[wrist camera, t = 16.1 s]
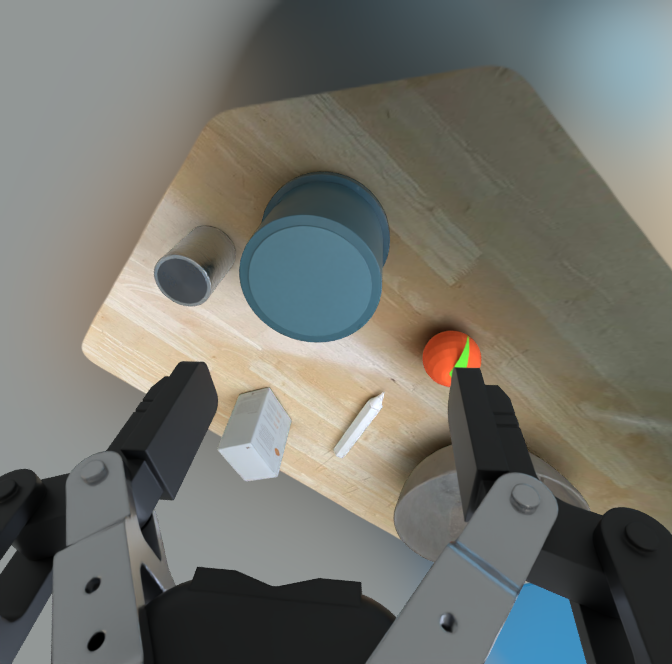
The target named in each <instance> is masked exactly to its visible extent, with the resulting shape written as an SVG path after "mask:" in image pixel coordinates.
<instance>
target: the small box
mask: <svg viewBox="0 0 672 664" xmlns="http://www.w3.org/2000/svg"><path fill="white" fill-rule="evenodd" d="M290 425H291V419H290V417H289V416H288V414H287V413H286V411H285V410H284V408H283V407H282V405H281V404H280V402H279V401H278V399H277V398H276V397H275V395H274V394H273V392H272V391H271V389H270V388H265V389H260V390H256V391H252V392H248V393H244V394H240V395H239V397H238V399H237V401H236V404H235V406H234V409H233V411H232V414H231V416H230V418H229V421H228V423H227V426H226V428H225V431H224V433H223V435H222V438H221V440H220V443H219V445H218V448H217V450H218V451H219V452H220V454H221V455H222V456H223V457H224V458H225V459H226V460H227V461H228V463H229V464H230V465H231V466H232V467H233V468H234V469H235V470H236V471H237V473H238V474H239V475H240V476H241V477H242V478H243V479H244V481H252V480H258V479H265V478H272V477H277V476H278V473H279V469H280V465H281V461H282V457H283V453H284V449H285V445H286V441H287V437H288V433H289V429H290Z"/></svg>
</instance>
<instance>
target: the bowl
mask: <svg viewBox="0 0 672 664" xmlns="http://www.w3.org/2000/svg"><path fill="white" fill-rule="evenodd" d="M529 455H530V458H531V460H532V463H533V466H534V469H535V472H536V474H537V477H538V478H539V480H540V481H541V482H542V483H544V484H545V485H546V486H547V487H548V488H549V489H550V490H551V492H552V493H553V494H554V496H556V497H557V498H559V499H560V500H562V501H564V502H566V503H568V504H571V505H573V506H576V507H579V508H582V509H585V510H588V511H590V508H589V506H588V504H587V502H586V501H585V499H584V498H583V496H582V495H581V494H580V493H579V492H578V490H577V489H576V488H575V487H574V486H573V485H572V484H571V483H570V482H569V481H568V480H567V479H566V478H564V477H563V476H562V475H561V474H560V473H559V472H558V471H557V470H555V469H554V468H553V467H552V466H550V465H549V464H547V463H546V462H545V461H543V460H542V459H540V458H538V457H537V456H535V455H533V454H532V453H530V452H529ZM467 523H468V522H464V515H463V509H462V503H461V497H460V490H459V484H458V478H457V472H456V466H455V459H454V453H453V447H452V445H449V446H447V447H444V448H442V449H440V450H437V451H436V452H434V453H433V454H431V455H429V456H428V457H426V458H425V459H424V460H423V461H422V462H420V463H419V464H418V465H417V467H416V468H415V469H414V470H413V471H412V472H411V474H410V475H409V477H408V479H407V480H406V482H405V484H404V486H403V488H402V491H401V493H400V496H399V498H398V501H397V504H396V507H395V511H394V525H395V528H396V531H397V533H398V535H399V537H400V539H401V540H402V541H403V542H404V543H405V544H406V545H407V546H408V547H409V548H410V549H411V550H413V551H414V552H415V553H417V554H419V555H420V556H422V557H423V558H425V559H428V560H430V561H432V562H435V561H436V559H437V558H438V556H439V555H440V553H441V552H442V551H443V549H444V548H445V547H446V546H447V544H448V543H450V542H451V541H453V542H454V541H455V540H456V539H457V538H458V536H459V535H460V534H461V532H462V531H463V529H464V528H465V526H466V525H467Z"/></svg>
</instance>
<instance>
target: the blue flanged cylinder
mask: <svg viewBox="0 0 672 664" xmlns="http://www.w3.org/2000/svg"><path fill="white" fill-rule="evenodd" d="M389 244H390V233H389V225H388V220H387V217H386V214H385V212H384V210H383V208H382V206H381V204H380V203H379V201H378V200H377V198H376V197H375V196H374V195H373V194H372V193H371V191H370V190H368V189H367V188H366V187H365V186H364V185H362V184H361V183H359V182H358V181H356V180H354V179H352V178H350V177H348V176H345V175H342V174H339V173H333V172H312V173H307V174H304V175H301V176H298V177H296V178H294V179H292V180H291V181H289V182H287V183H286V184H285V185H284V186H282V187H281V188H280V189H279V190H278V191H277V192H276V194H275V195H274V196H273V197H272V199H271V200H270V202H269V203H268V205H267V207H266V209H265V211H264V214H263V218H262V223H261V225H260V226H259V228H258V229H257V230H256V232H255V233H254V235H253V236H252V237H251V239H250V240H249V242H248V243H247V245H246V247H245V249H244V251H243V253H242V257H241V260H240V268H239V277H240V283H241V288H242V291H243V294H244V296H245V298H246V301H247V302H248V304H249V306H250V307H251V309H252V310H253V311H254V313H255V314H256V315H257V316H258V317H259V318H260V319H261V320H262V321H263V322H264V323H265V324H267V325H268V326H269V327H271V328H272V329H274V330H275V331H277V332H279V333H281V334H283V335H285V336H287V337H290V338H293V339H296V340H300V341H306V342H329V341H335V340H338V339H342V338H344V337H347V336H349V335H351V334H353V333H354V332H356V331H357V330H359V329H360V328H361V327H363V326H364V325H365V324H366V323H367V322H368V321H369V319H370V318H371V317H372V316H373V314H374V312H375V310H376V309H377V306H378V304H379V301H380V297H381V291H382V268H383V266H384V264H385V262H386V259H387V256H388V252H389Z"/></svg>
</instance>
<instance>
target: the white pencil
mask: <svg viewBox="0 0 672 664" xmlns="http://www.w3.org/2000/svg"><path fill="white" fill-rule="evenodd" d="M383 396H384V392H383V393H382V394H380V395H378V396H377V397H375V398H371V399H370V400H369V401H368V402H367V403H366V404H365V406H364V407H363V409H362V410H361V411H360V413H359V414H358V416H357V417H356V418H355V420H354V421H353V423H352V424H351V425H350V427H349V428H348V430H347V431H346V432H345V434H344V435H343V436H342V438H341V439H340V441H339V442H338V443H337V445H336V446H335V448H334V449H333V450H334V453H335V455H336V456H337V457H340V458H343V457H344V456H345V455H346V454H347V453H348V452H349V450H350V449H351V448H352V446H353V445H354V444H355V442H356V441H357V440H358V439H359V437H360V436H361V435H362V433H363V432H364V431H365V429H366V428H367V427H368V426H369V424H370V423H371V422H372V420H373V419H374V418H375V416H376V415H377V414H378V412H379V411H380V410H381V409H382V407H383V406H382V399H383Z"/></svg>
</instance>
